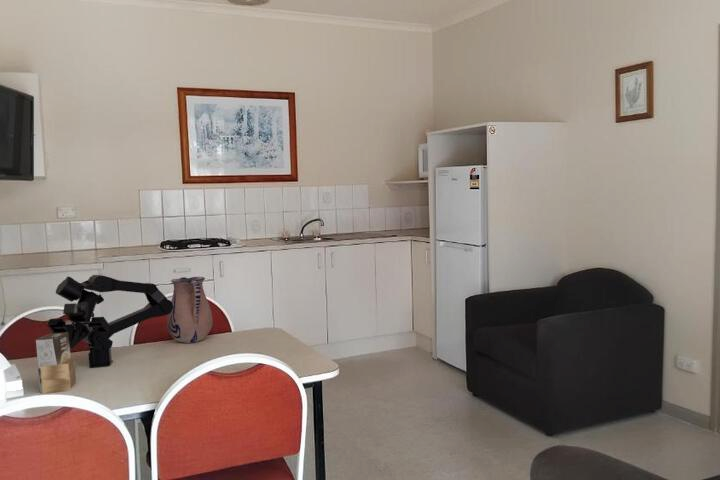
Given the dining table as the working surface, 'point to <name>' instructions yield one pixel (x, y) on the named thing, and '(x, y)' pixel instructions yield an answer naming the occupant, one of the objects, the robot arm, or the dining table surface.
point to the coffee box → (52, 351)
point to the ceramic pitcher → (189, 311)
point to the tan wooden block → (58, 377)
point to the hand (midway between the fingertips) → (70, 347)
